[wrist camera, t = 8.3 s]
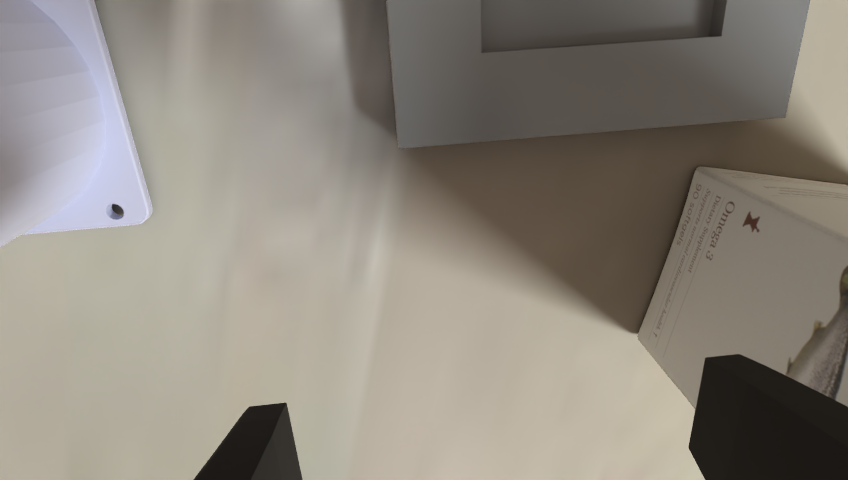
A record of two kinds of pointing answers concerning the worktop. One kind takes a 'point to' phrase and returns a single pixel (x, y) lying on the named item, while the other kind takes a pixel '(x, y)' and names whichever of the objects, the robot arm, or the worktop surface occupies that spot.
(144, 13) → the worktop surface
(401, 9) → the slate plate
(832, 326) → the supplement box
